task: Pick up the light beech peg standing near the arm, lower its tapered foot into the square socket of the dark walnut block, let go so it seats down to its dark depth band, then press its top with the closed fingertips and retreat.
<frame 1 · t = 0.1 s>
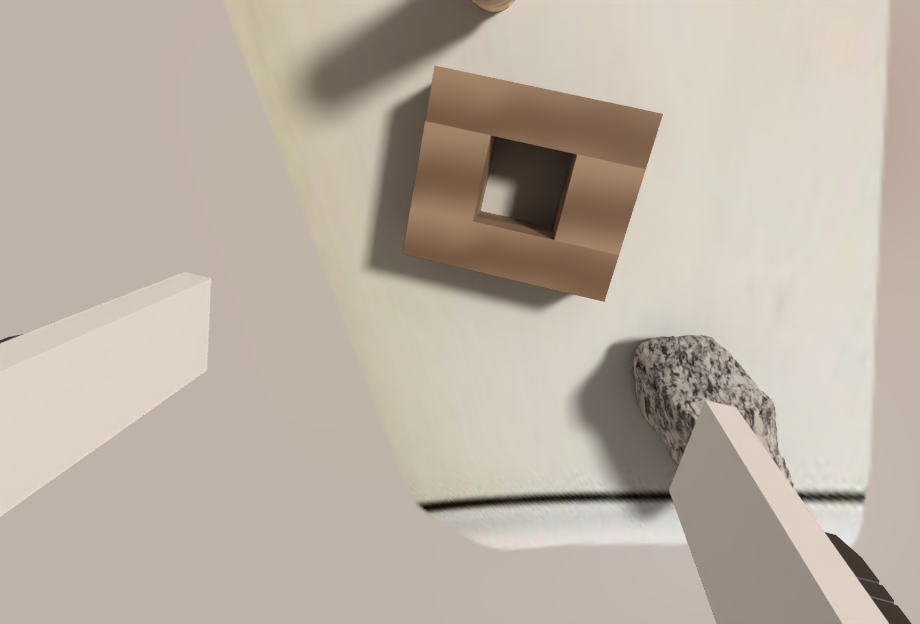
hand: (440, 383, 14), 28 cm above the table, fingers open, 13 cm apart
rock: (692, 404, 43), on the table
board: (525, 182, 39), on the table
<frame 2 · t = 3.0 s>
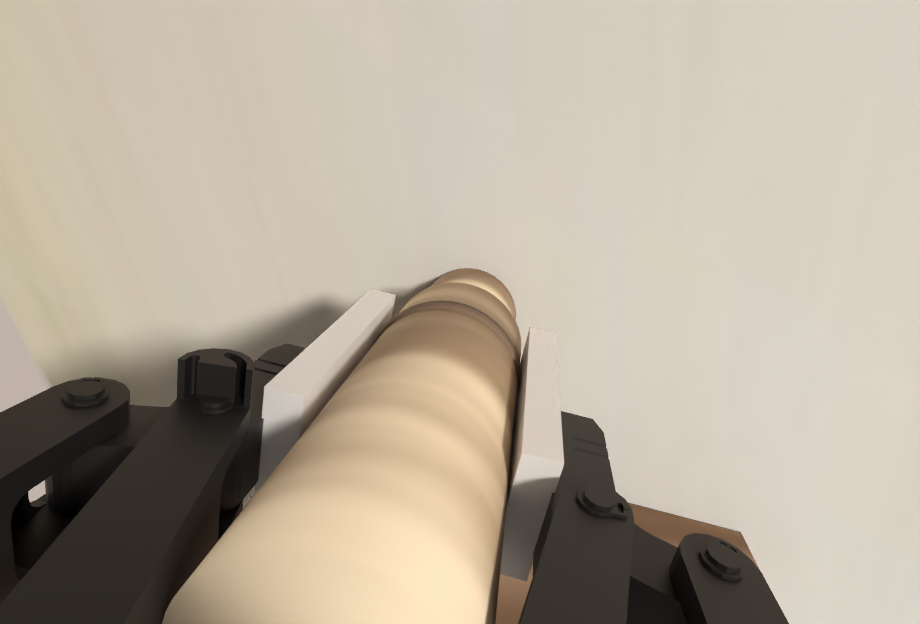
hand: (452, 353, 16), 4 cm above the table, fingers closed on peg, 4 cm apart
peg: (468, 314, 20), on the table, touching gripper
board: (524, 599, 23), on the table
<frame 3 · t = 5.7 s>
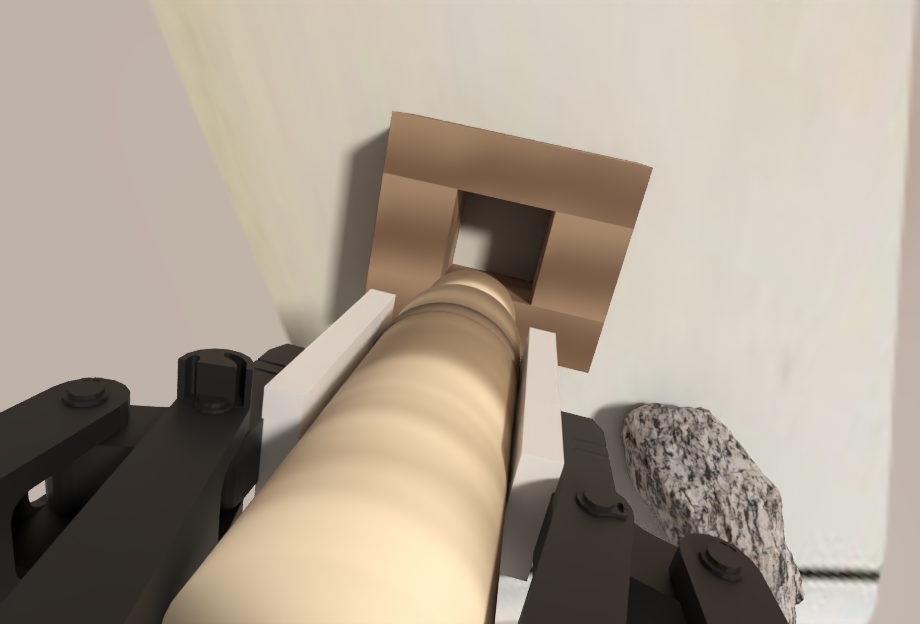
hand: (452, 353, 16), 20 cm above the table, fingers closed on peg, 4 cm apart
peg: (468, 315, 20), point 17 cm above the table, touching gripper
rock: (688, 473, 39), on the table
board: (501, 233, 35), on the table
when the fingers open (6 cm above the table, at t = 8.4 s): peg drops 2 cm, resting in board.
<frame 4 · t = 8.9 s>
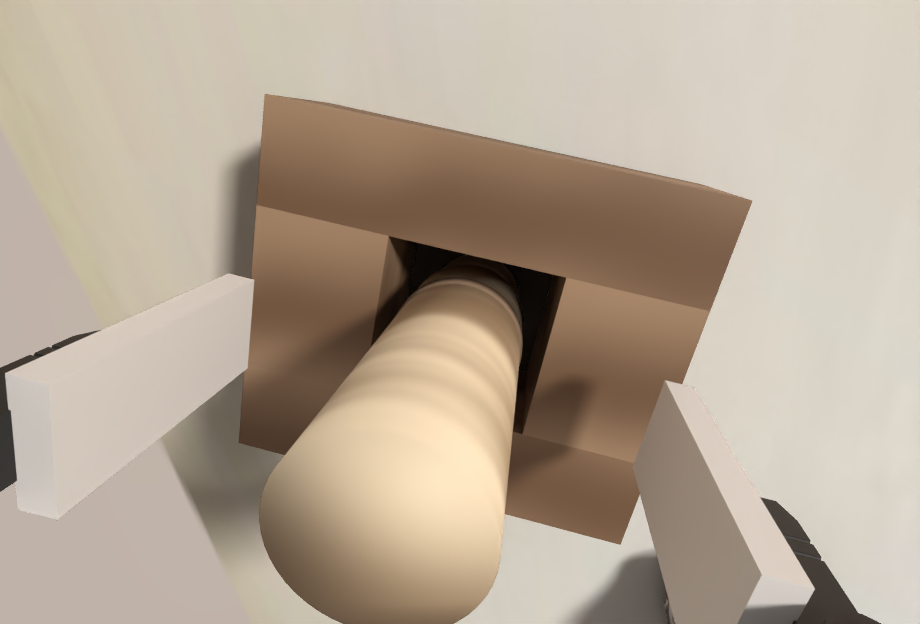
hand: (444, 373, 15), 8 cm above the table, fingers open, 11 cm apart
peg: (475, 295, 22), resting in board
board: (476, 295, 22), on the table
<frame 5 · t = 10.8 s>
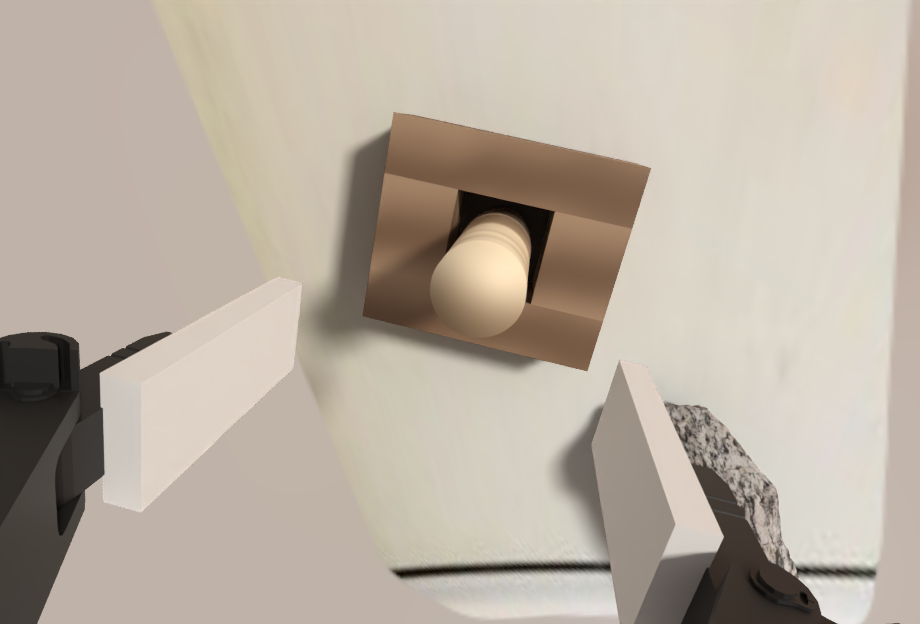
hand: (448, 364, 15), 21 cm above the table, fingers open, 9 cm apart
peg: (501, 233, 35), resting in board
rock: (686, 471, 39), on the table
board: (501, 232, 35), on the table
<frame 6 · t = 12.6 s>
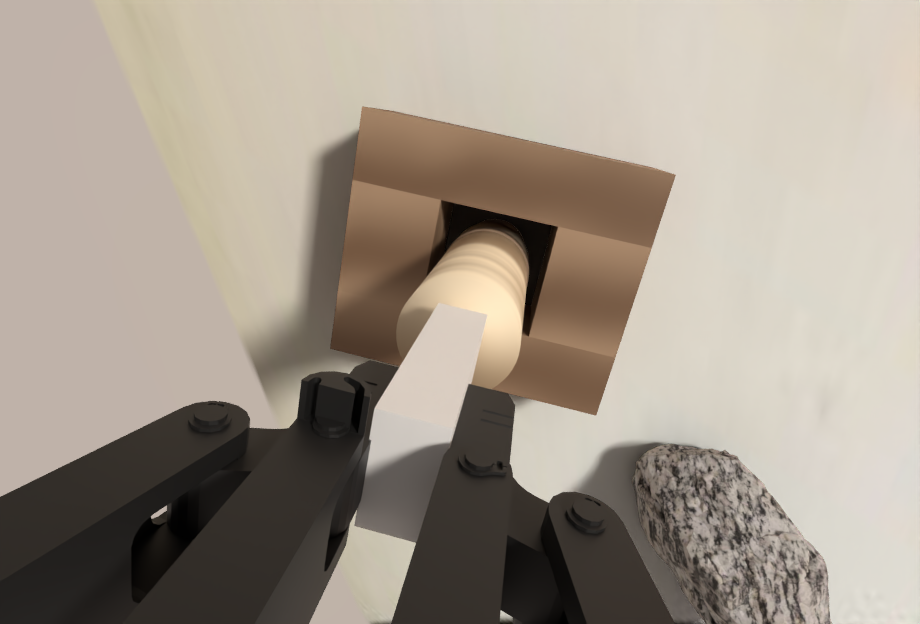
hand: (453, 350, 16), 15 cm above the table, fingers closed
peg: (494, 249, 30), resting in board
rock: (708, 521, 34), on the table
board: (494, 248, 30), on the table
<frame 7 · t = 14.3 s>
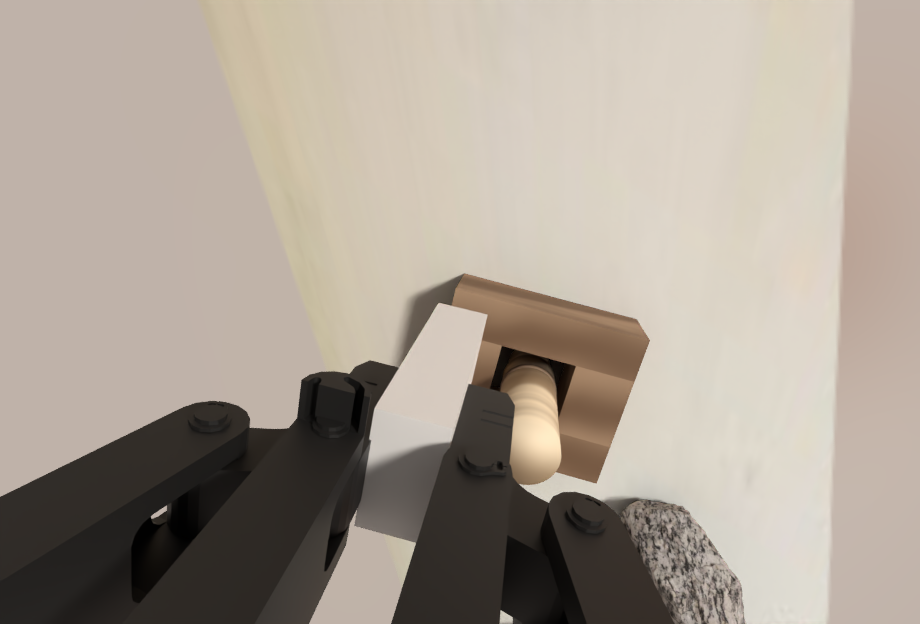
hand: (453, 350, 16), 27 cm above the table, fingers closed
peg: (528, 364, 45), resting in board
rock: (671, 554, 48), on the table
board: (529, 364, 45), on the table
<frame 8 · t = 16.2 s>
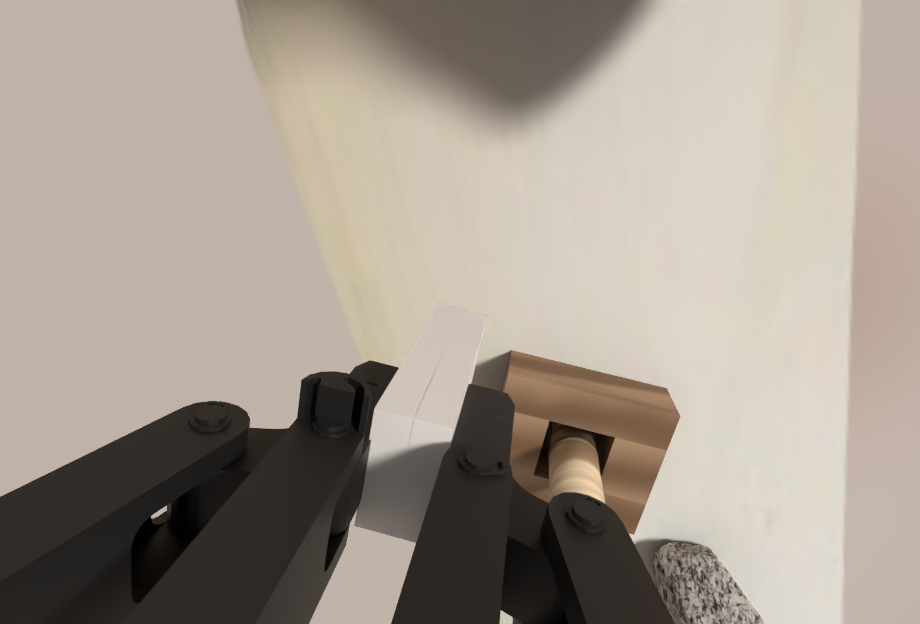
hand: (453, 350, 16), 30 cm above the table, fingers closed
peg: (570, 426, 50), resting in board
rock: (700, 586, 54), on the table
board: (570, 426, 50), on the table
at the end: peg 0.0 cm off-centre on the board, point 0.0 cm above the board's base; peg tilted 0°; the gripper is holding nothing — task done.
